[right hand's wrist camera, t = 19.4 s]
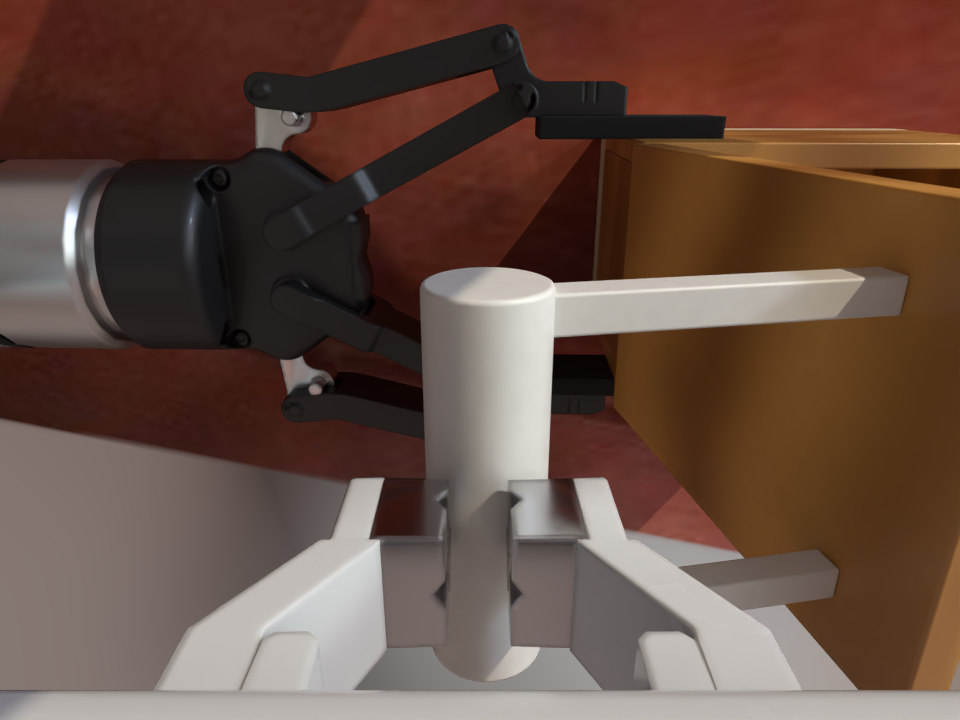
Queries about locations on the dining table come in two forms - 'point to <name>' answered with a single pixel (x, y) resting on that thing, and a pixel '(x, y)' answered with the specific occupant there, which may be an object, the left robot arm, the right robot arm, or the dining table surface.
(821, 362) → the lid
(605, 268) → the chest
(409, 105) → the dining table surface
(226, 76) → the dining table surface
